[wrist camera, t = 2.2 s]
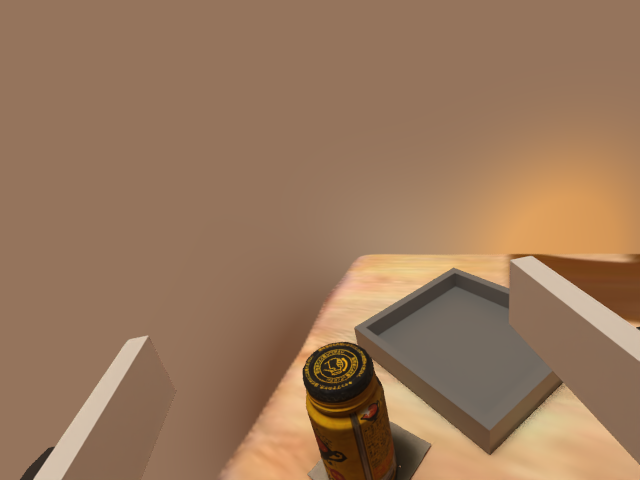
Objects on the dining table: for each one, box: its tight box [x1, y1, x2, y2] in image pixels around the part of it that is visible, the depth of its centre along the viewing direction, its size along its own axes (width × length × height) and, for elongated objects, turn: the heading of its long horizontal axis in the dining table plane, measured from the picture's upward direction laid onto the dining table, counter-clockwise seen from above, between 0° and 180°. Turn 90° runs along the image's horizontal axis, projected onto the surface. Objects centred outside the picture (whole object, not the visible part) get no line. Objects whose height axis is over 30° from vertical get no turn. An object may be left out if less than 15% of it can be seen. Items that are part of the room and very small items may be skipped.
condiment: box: [303, 342, 431, 480], centre depth 28 cm, size 7×8×12 cm
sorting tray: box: [354, 268, 563, 455], centre depth 39 cm, size 18×18×3 cm
